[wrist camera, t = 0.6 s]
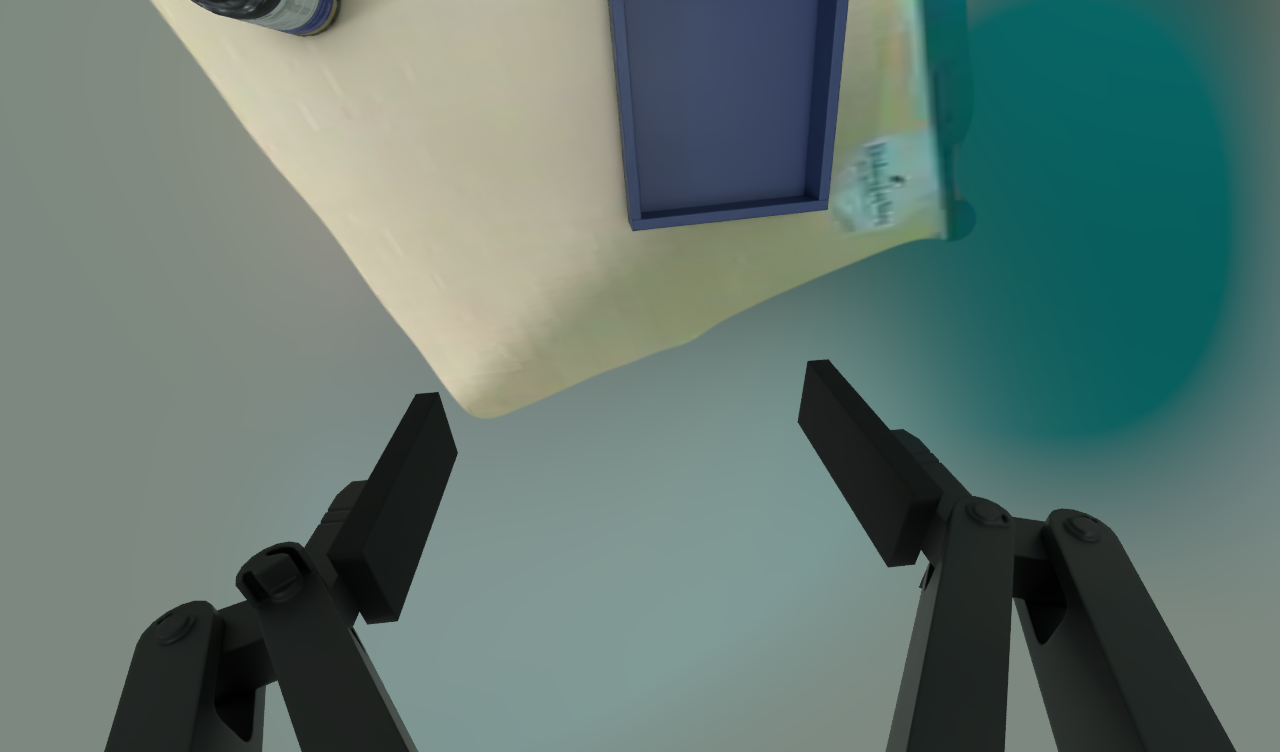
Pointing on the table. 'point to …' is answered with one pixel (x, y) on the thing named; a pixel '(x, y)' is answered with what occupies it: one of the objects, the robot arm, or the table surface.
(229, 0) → the pill bottle
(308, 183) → the table surface
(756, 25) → the tray
